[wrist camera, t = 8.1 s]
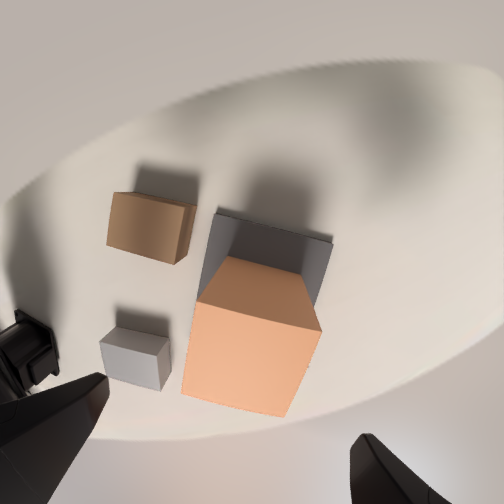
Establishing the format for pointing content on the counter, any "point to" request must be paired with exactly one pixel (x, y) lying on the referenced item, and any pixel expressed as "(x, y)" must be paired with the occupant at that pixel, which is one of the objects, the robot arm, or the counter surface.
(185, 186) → the counter surface
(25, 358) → the robot arm
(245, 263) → the terracotta block
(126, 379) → the grey plastic block
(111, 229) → the walnut block
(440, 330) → the counter surface
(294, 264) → the charcoal mat
